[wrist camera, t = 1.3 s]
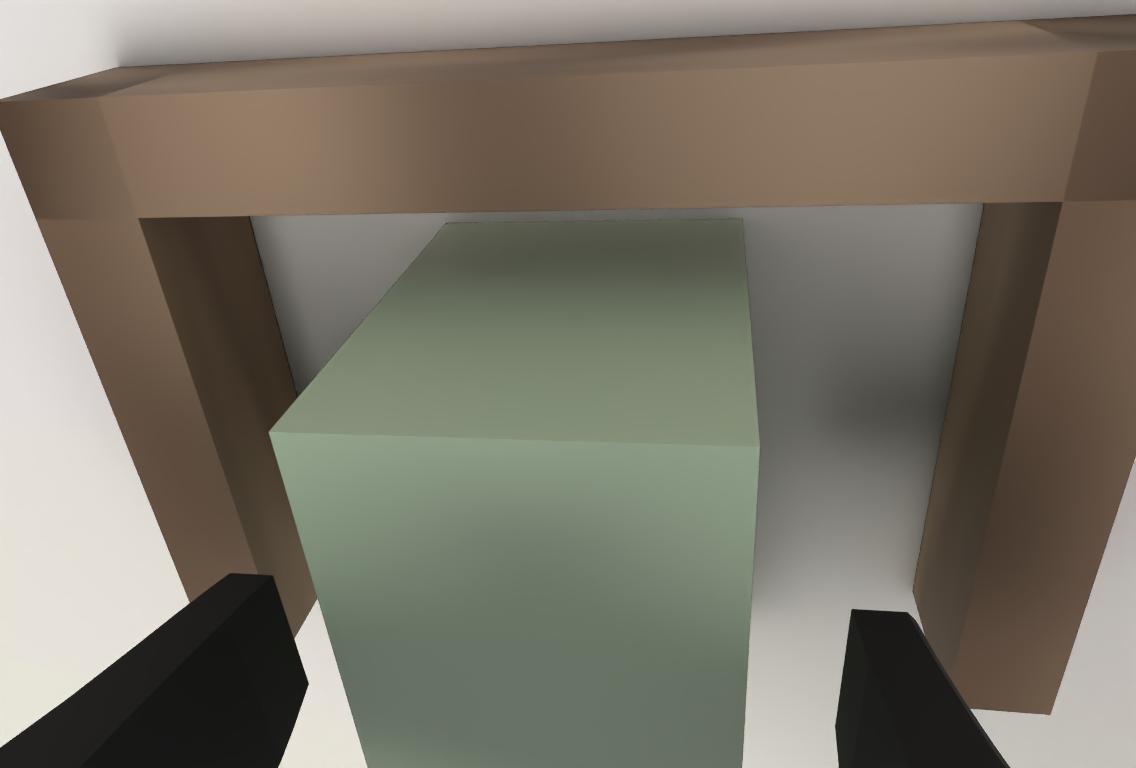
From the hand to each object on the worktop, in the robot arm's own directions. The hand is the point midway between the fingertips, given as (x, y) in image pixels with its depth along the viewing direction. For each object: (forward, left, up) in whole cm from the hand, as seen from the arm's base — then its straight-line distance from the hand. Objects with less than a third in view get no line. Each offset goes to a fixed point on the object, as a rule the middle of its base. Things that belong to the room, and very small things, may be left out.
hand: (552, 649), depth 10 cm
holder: (0, -2, -5) cm, 5 cm away
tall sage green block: (0, 0, -5) cm, 5 cm away
